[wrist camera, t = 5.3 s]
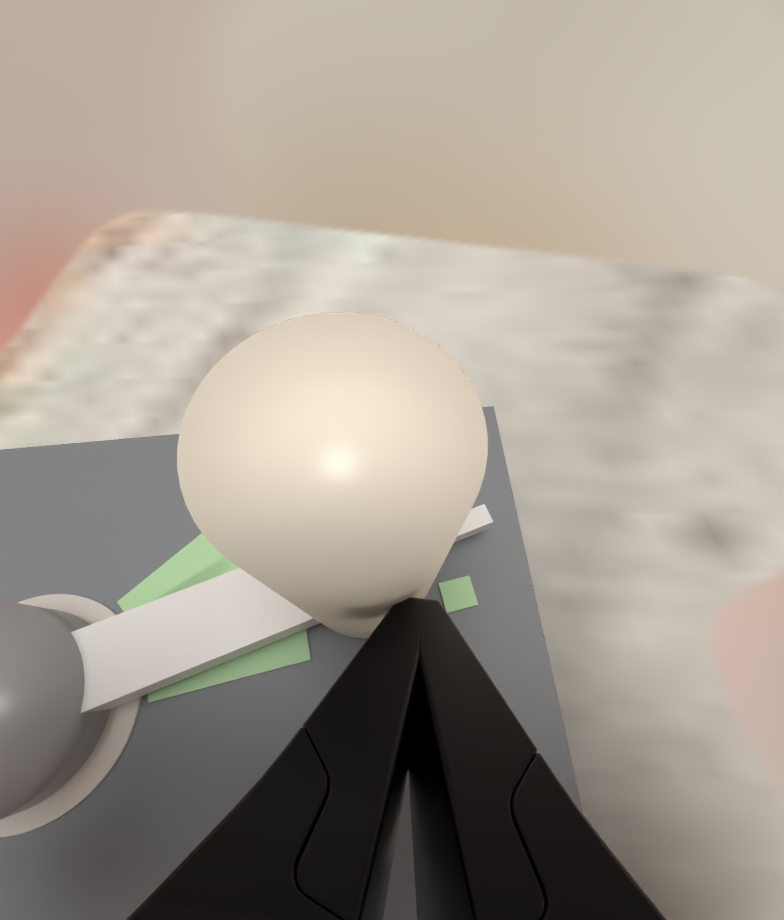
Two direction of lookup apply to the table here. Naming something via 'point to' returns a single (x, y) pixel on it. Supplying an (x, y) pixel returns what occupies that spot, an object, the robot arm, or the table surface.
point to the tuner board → (212, 673)
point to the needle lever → (266, 528)
